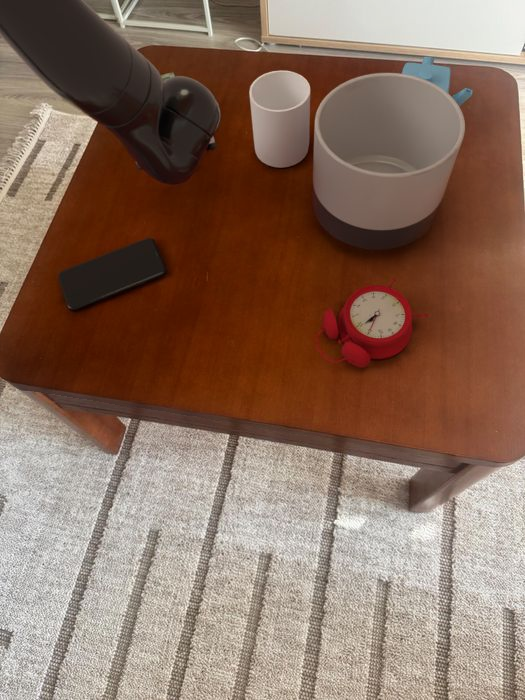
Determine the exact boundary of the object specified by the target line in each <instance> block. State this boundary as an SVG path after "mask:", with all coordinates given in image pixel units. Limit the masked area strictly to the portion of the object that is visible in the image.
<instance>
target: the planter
mask: <svg viewBox="0 0 525 700" xmlns="http://www.w3.org/2000/svg"><path fill="white" fill-rule="evenodd" d="M451 96H452V95H450V94H448V93H447V92H446V91H445V90H443V89H442V88H440V87H439V86H437V85H435V84H434V83H432V82H429V81H427V80H425V79H422V78H419V77H415V76H412V75H407V74H401V73H400V72H375V73H369V74H364V75H361V76H357V77H354V78H351V79H349V80H347V81H345V82H343V83H341V84H339V85H338V86H336V87H334V89H332V90H331V91H330V92H329V93H327V95H325V97H324V98H323V99H322V100H321V102H320V104H319V105H318V108H317V109H316V113H315V116H314V129H313V130H314V132H313V135H314V136H313V164H312V193H311V194H312V197H311V200H312V201H311V204H312V210H313V212H314V215H315V217H316V220H317V221H318V222H319V224H320V225H321V227H322V228H323V229H324V230H325V231H326V232H327V233H328V234H330V235H331V236H332V237H334V238H335V239H337V240H338V241H340V242H342V243H344V244H346V245H349V246H352V247H355V248H359V249H363V250H364V249H365V250H373V251H375V250H376V251H380V250H381V251H383V250H385V251H386V250H391V249H396V248H400V247H404V246H406V245H408V244H409V245H410V243H413V242H414V241H416V240H418V239H419V238H421V237H422V236H423V235H425V233H427V232H428V230H429V229H430V228H431V227H432V226H433V224H434V222H435V220H436V218H437V215H438V213H439V211H440V207H441V204H442V202H443V198H444V196H445V193H446V189H447V187H448V184H449V181H450V179H451V175H452V173H453V169H454V167H455V164H456V161H457V158H458V155H459V152H460V150H461V146H462V144H463V141H464V139H465V138H464V137H465V133H466V122H465V116H464V114H463V110H462V109H461V107H460V106H459V105H458V104H457V103H456V101H455V100H454V99H453V98H452V97H451Z"/></svg>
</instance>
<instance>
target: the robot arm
mask: <svg viewBox="0 0 525 700" xmlns="http://www.w3.org/2000/svg"><path fill="white" fill-rule="evenodd" d="M0 37H1V38H2V39H3V40H4V41H5V43H6V44H7V45H8V46H9V47H10V48H11V49H12V50H13V52H15V53H16V55H18V57H19V58H20V59H21V60H22V61H23V62H24V64H25V65H26V66H27V67H28V69H30V70H31V71H32V72H33V74H34V75H35V76H36V77H38V79H39V80H41V82H42V83H44V85H46V86H47V87H48V88H49V89H50V90H51V91H52V92H54V94H56V95H57V96H58V97H60V98H61V99H62V100H63V101H65V102H66V103H67V104H69V105H70V106H71V107H73V108H74V109H76V110H78V111H80V112H81V113H82V114H84V115H86V116H87V117H88V118H90V119H92V120H93V121H95V122H97V123H98V124H99V125H101V126H103V127H104V128H105V129H107V130H109V132H110V133H112V135H114V136H115V137H116V138H117V140H119V142H120V143H121V144H122V145H123V147H124V148H125V150H126V151H127V153H128V154H129V155H130V156H131V158H132V159H133V160H134V162H135V164H136V168H137V170H141V171H144V173H146V175H148V176H149V177H151V178H152V179H153V180H156V181H157V182H159V183H162V184H164V185H168V186H177V185H181V184H184V183H186V182H188V181H189V180H190V179H191V178H192V177H193V176H194V174H195V172H196V171H197V168H198V167H199V164H200V162H201V160H202V159H203V157H204V154H205V153H206V152H209V151H215V149H217V144H216V140H215V137H214V136H215V133H216V131H217V128H218V127H219V124H220V122H221V108H220V105H219V102H218V101H217V98H216V97H215V95H214V94H213V93H212V92H211V90H210V89H209V88H207V86H205V85H204V84H203V83H201V82H200V81H199V80H196V79H194V78H191V77H188V76H183V75H175V76H174V77H170V78H168V79H166V80H165V81H163V80H162V77H161V75H162V74H161V73H159V72H160V71H159V70H158V69H157V67H155V65H154V64H153V63H151V61H150V60H149V59H148V58H146V57H145V55H143V54H142V53H141V52H140V51H138V49H137V48H135V46H133V45H132V44H131V43H130V42H129V41H128V40H126V39H125V38H124V37H123V36H122V35H121V33H119V32H118V31H117V30H115V29H114V28H113V26H111V25H110V24H109V23H108V22H107V21H105V20H104V19H103V17H101V16H100V15H99V14H98V13H97V12H96V11H95V10H94V9H93V8H92V7H91V6H90V5H89V4H88V3H87V2H86V1H84V0H0Z"/></svg>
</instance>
